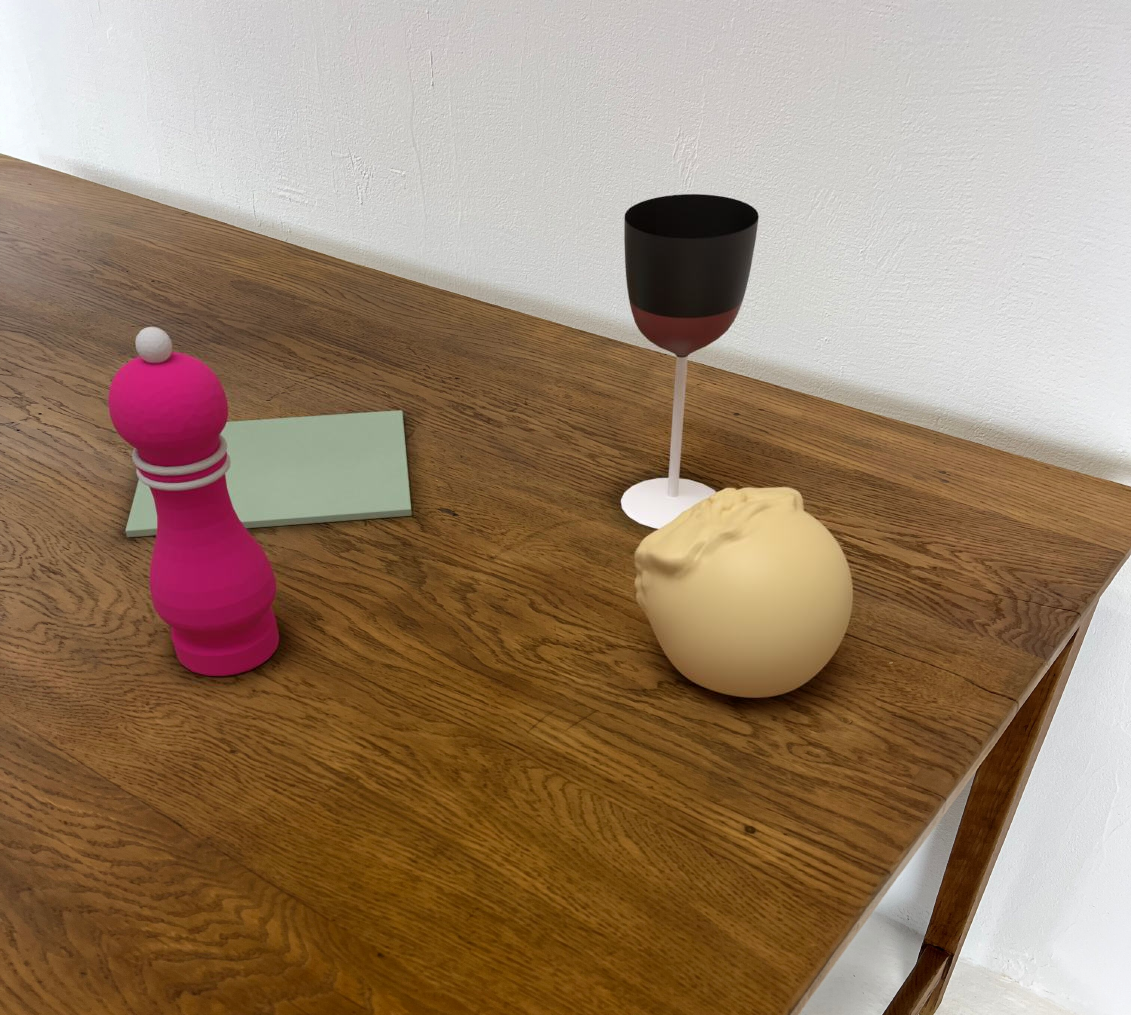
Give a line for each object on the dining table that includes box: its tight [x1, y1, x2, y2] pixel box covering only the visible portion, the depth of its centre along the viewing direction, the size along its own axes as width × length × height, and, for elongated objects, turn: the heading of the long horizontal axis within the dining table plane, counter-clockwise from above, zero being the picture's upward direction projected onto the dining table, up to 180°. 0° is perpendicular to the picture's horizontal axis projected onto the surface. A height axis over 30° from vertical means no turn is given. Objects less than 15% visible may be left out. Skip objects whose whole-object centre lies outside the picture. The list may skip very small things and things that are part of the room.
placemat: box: [124, 409, 413, 538], centre depth 87 cm, size 20×16×1 cm
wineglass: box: [620, 193, 760, 530], centre depth 77 cm, size 8×9×20 cm
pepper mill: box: [107, 326, 280, 677], centre depth 64 cm, size 7×7×20 cm
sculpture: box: [633, 486, 854, 699], centre depth 66 cm, size 12×12×11 cm
